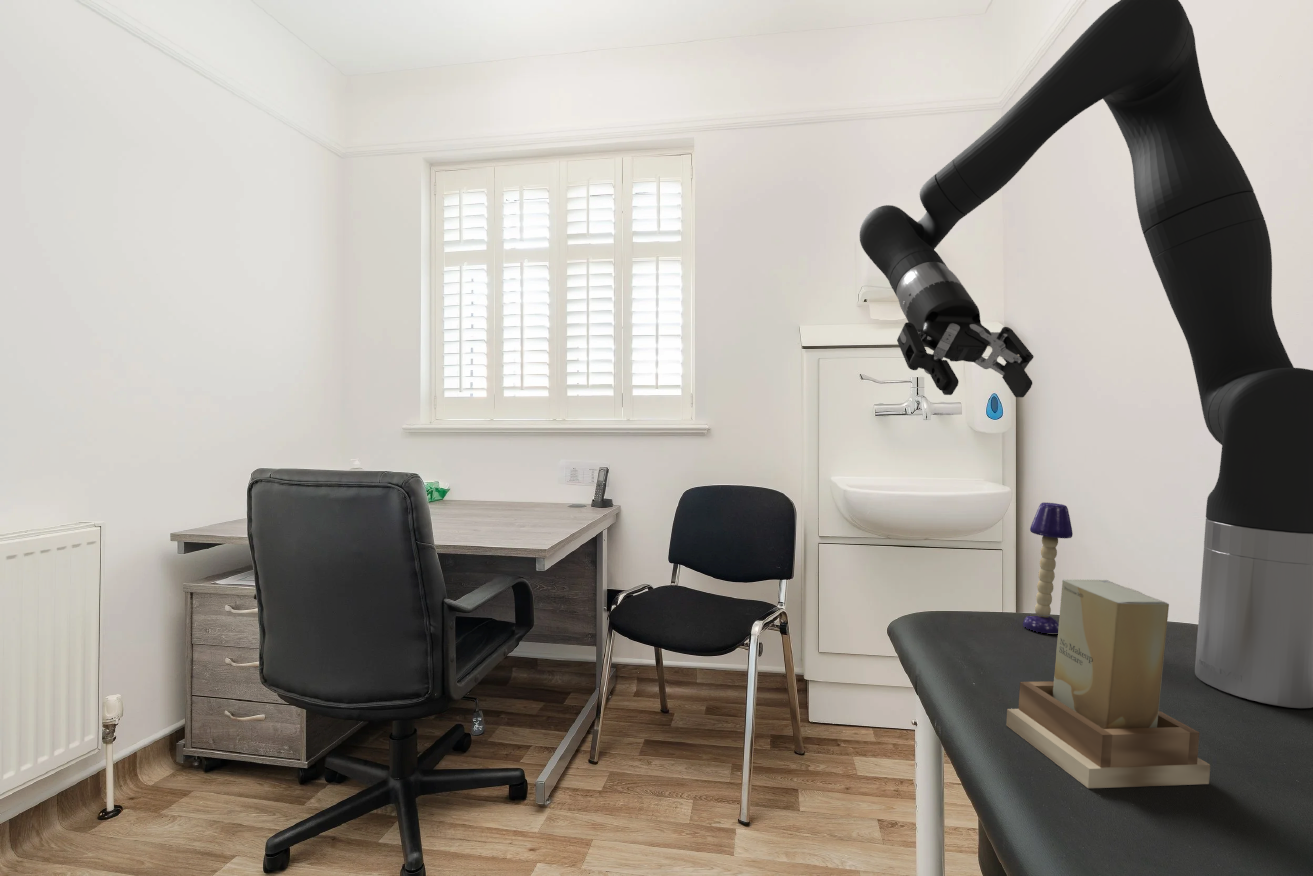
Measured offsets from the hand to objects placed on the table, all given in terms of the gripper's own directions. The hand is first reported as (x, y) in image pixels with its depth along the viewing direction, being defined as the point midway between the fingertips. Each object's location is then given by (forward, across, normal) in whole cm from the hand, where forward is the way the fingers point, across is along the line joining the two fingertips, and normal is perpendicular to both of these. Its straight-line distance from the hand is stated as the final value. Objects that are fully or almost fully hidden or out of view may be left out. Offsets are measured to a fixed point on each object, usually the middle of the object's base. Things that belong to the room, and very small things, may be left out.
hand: (988, 390), depth 67 cm
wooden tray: (+34, -1, +9) cm, 35 cm away
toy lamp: (+15, +16, +28) cm, 36 cm away
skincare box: (+33, -1, +8) cm, 34 cm away
